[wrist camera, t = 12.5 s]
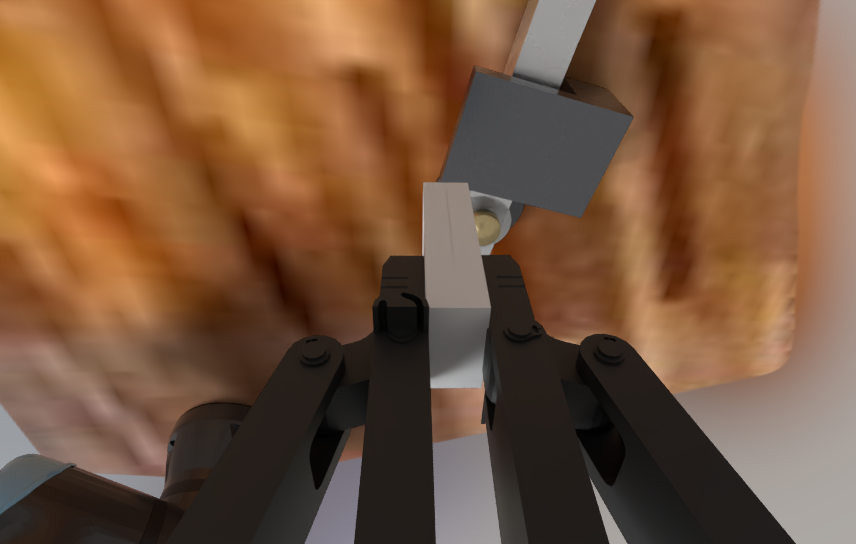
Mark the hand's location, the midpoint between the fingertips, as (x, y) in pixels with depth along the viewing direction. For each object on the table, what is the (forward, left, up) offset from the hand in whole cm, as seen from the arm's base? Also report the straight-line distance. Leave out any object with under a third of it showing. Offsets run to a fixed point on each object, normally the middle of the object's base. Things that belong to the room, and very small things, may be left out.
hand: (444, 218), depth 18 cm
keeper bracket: (+3, -10, -24) cm, 26 cm away
